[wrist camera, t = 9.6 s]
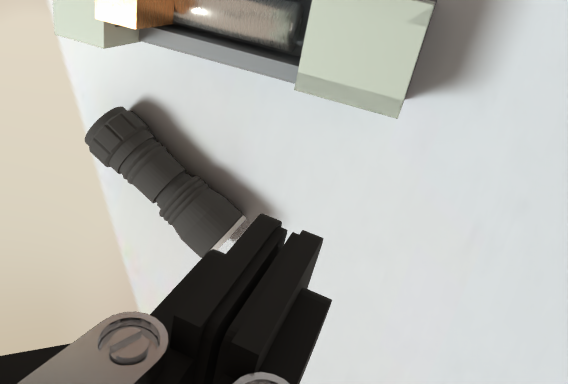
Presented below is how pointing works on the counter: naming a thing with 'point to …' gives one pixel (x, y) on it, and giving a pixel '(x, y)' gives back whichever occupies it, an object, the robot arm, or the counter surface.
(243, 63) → the toy lathe
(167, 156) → the flashlight
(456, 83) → the counter surface
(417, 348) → the counter surface
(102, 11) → the hammer
